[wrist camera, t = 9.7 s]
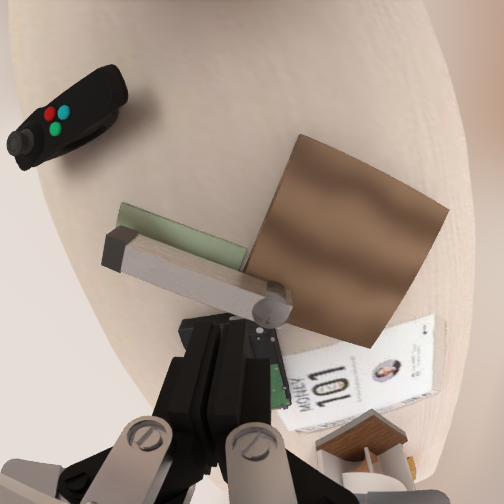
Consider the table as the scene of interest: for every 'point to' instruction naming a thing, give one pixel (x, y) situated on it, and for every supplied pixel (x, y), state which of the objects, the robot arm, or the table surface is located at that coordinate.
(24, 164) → the controller
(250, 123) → the table surface
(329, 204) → the brown flat wooden board
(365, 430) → the gray dispenser tower
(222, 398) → the robot arm
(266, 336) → the disk drive
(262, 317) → the folding leg
